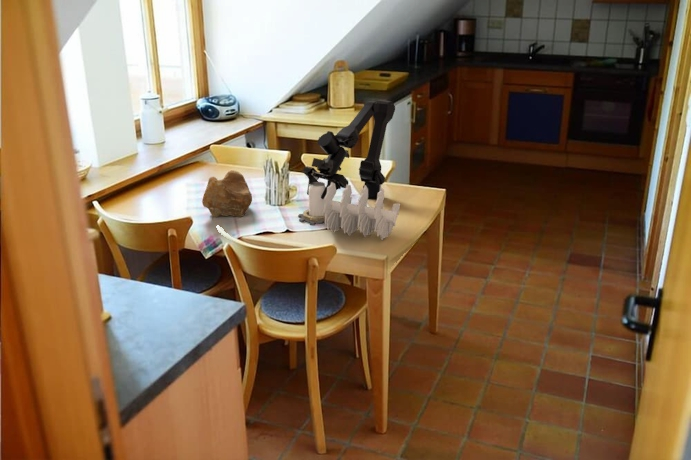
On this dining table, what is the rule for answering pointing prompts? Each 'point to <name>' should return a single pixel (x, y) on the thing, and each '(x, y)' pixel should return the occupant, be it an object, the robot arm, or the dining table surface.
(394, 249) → the dining table surface
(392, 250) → the dining table surface
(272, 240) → the dining table surface
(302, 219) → the gear plate
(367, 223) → the white pleated crown
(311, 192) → the can
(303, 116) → the dining table surface
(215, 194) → the rough brown rock
